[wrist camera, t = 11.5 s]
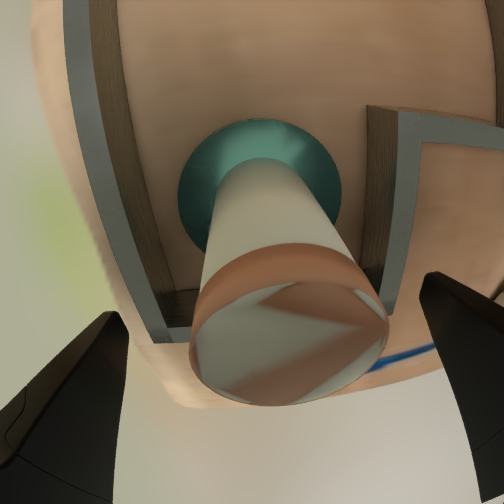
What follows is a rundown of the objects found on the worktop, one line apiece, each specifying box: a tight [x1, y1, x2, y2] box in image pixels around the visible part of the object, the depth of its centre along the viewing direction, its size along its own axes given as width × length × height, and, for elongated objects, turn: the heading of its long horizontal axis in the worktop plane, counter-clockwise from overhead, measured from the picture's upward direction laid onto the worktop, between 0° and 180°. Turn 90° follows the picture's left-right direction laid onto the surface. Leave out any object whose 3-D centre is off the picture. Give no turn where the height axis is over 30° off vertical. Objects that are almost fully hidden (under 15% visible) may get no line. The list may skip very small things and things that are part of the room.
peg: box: [189, 157, 389, 406], centre depth 10 cm, size 4×4×9 cm
